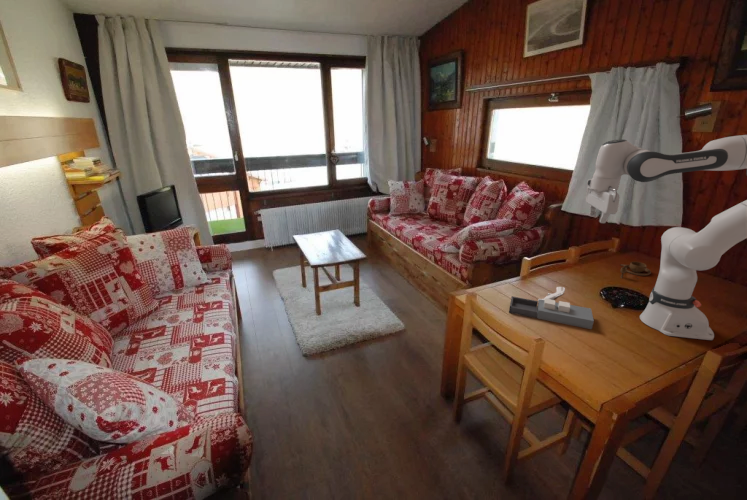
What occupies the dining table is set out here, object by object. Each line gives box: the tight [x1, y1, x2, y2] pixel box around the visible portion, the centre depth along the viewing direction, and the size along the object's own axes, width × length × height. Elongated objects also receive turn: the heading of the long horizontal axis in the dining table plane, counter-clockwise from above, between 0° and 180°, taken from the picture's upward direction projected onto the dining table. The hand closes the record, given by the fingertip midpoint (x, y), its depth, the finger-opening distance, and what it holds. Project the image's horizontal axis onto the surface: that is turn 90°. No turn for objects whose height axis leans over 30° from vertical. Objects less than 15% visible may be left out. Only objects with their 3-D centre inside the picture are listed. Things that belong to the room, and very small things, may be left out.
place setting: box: [620, 261, 652, 280], centre depth 178 cm, size 18×20×6 cm
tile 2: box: [557, 300, 571, 313], centre depth 139 cm, size 4×4×2 cm
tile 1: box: [544, 299, 556, 310], centre depth 142 cm, size 4×4×2 cm
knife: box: [537, 286, 566, 302], centre depth 161 cm, size 30×2×8 cm
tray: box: [508, 296, 538, 319], centre depth 147 cm, size 11×10×3 cm
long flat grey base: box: [536, 298, 595, 330], centre depth 140 cm, size 20×10×4 cm, turn 64°
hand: (597, 219), depth 131 cm, fingers open, 8 cm apart
